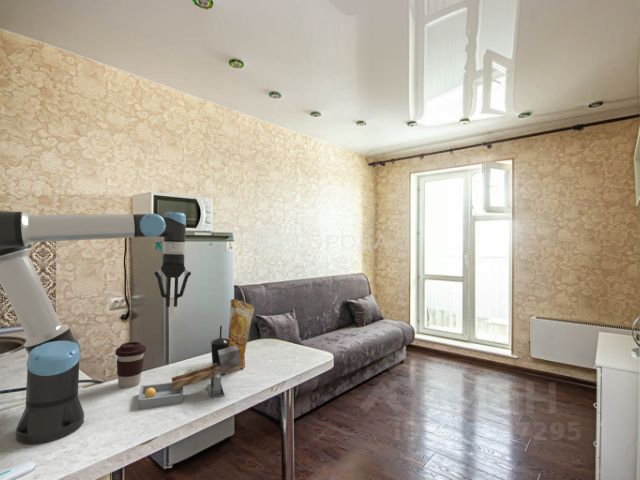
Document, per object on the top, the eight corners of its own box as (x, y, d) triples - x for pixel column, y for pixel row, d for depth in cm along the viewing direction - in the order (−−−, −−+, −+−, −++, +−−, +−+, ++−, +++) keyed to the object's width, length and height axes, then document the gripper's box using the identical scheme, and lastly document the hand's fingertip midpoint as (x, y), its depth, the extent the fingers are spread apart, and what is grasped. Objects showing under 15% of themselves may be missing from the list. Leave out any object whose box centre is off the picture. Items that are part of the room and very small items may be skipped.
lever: (172, 390, 113) (168, 370, 113) (172, 377, 124) (169, 359, 123) (242, 368, 123) (238, 349, 122) (236, 357, 133) (233, 340, 133)
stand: (209, 397, 116) (210, 373, 116) (207, 385, 126) (207, 363, 126) (224, 395, 118) (225, 371, 118) (220, 383, 128) (221, 361, 128)
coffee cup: (116, 392, 118) (118, 350, 118) (112, 382, 125) (113, 342, 125) (146, 385, 124) (148, 345, 124) (141, 376, 132) (142, 338, 132)
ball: (144, 391, 111) (155, 389, 112) (145, 386, 114) (156, 385, 115) (144, 401, 111) (155, 399, 112) (144, 396, 114) (155, 395, 115)
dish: (137, 409, 107) (137, 400, 107) (140, 393, 117) (141, 385, 117) (182, 402, 112) (183, 394, 112) (182, 388, 123) (182, 380, 123)
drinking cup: (222, 378, 132) (225, 329, 132) (205, 376, 134) (207, 327, 134) (231, 371, 140) (233, 324, 140) (215, 369, 141) (217, 322, 141)
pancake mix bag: (234, 355, 159) (237, 297, 159) (253, 368, 144) (256, 304, 145) (221, 358, 155) (223, 298, 155) (239, 371, 140) (242, 305, 140)
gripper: (154, 253, 119) (151, 318, 119) (192, 254, 124) (190, 316, 124) (155, 252, 126) (152, 314, 126) (191, 253, 131) (189, 312, 131)
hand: (171, 315), depth 125 cm, fingers closed
